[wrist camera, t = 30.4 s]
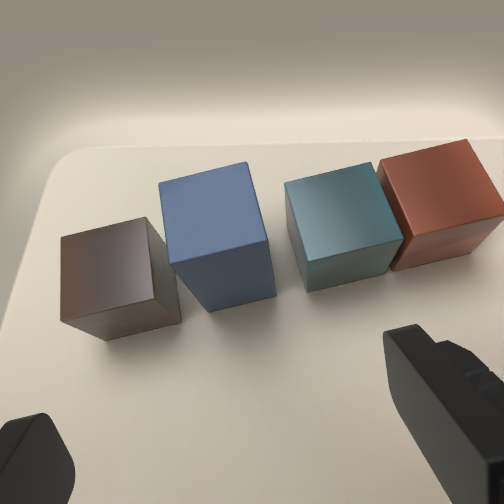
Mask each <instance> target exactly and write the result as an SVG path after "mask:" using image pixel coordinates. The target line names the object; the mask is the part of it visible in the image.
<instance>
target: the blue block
mask: <svg viewBox="0 0 504 504" xmlns="http://www.w3.org/2000/svg"><path fill="white" fill-rule="evenodd" d="M159 192H160V200H161V207H162V215H163V222H164V230H165V237H166V245H167V252H168V260H169V264H170V266H171V267H172V268H173V269H174V271H175V272H176V273H177V275H178V276H179V277H180V278H181V280H182V281H183V282H184V283H185V285H186V286H187V287H188V288H189V290H190V291H191V292H192V293H193V295H194V296H195V297H196V298H197V300H198V301H199V302H200V303H201V305H202V306H203V307H204V308H205V310H206V311H207V312H212V311H216V310H220V309H225V308H229V307H233V306H237V305H241V304H245V303H249V302H253V301H257V300H262V299H266V298H270V297H274V296H276V295H277V293H276V287H275V281H274V274H273V268H272V262H271V256H270V250H269V244H268V238H267V235H266V231H265V227H264V223H263V219H262V216H261V212H260V208H259V204H258V200H257V197H256V193H255V189H254V185H253V182H252V178H251V174H250V170H249V166H248V163H247V162H242V163H238V164H234V165H230V166H226V167H222V168H218V169H213V170H209V171H205V172H201V173H197V174H193V175H189V176H185V177H181V178H177V179H173V180H169V181H165V182H161V183H159Z"/></svg>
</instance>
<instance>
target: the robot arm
mask: <svg viewBox="0 0 504 504" xmlns="http://www.w3.org/2000/svg"><path fill="white" fill-rule="evenodd" d="M383 344H384V352H385V360H386V368H387V375H388V383H389V388H390V392H391V396H392V399H393V402H394V404H395V406H396V409H397V411H398V413H399V414H400V416H401V418H402V420H403V421H404V423H405V425H406V426H407V428H408V430H409V431H410V433H411V435H412V436H413V438H414V440H415V441H416V443H417V445H418V447H419V448H420V450H421V452H422V453H423V455H424V457H425V458H426V460H427V462H428V463H429V465H430V467H431V468H432V470H433V472H434V473H435V475H436V477H437V479H438V480H439V482H440V484H441V485H442V487H443V489H444V490H445V492H446V494H447V495H448V497H449V499H450V500H451V502H452V504H504V383H503V381H502V380H501V379H500V378H499V377H497V376H496V375H495V374H494V373H493V372H492V371H491V372H490V371H489V369H488V367H487V366H486V365H485V364H484V363H483V362H482V361H481V360H480V359H478V358H477V357H476V356H475V355H474V354H473V353H472V352H471V351H469V350H467V349H465V348H463V347H461V346H459V345H457V344H455V343H452V342H450V341H448V340H446V341H442V342H438V343H435V342H434V341H433V340H432V338H431V337H430V336H429V335H428V334H427V333H426V332H425V331H424V330H423V329H422V328H421V327H420V326H419V325H417V324H414V325H409V326H405V327H401V328H397V329H393V330H389V331H385V332H384V333H383ZM74 483H75V466H74V462H73V459H72V457H71V455H70V453H69V451H68V450H67V448H66V446H65V444H64V442H63V440H62V438H61V436H60V434H59V433H58V431H57V429H56V427H55V425H54V423H53V421H52V419H51V418H50V417H49V415H47V414H45V413H39V414H35V415H31V416H27V417H23V418H19V419H14V420H10V421H8V422H7V423H5V424H4V426H3V427H2V428H1V430H0V504H67V503H68V501H69V498H70V496H71V493H72V491H73V488H74Z"/></svg>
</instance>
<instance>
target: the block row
mask: <svg viewBox="0 0 504 504" xmlns="http://www.w3.org/2000/svg"><path fill="white" fill-rule="evenodd" d="M284 187H285V204H286V221H287V228H288V231H289V235H290V238H291V242H292V245H293V248H294V252H295V255H296V259H297V262H298V266H299V269H300V273H301V276H302V280H303V283H304V287H305V290H306V292H311V291H315V290H319V289H323V288H328V287H332V286H336V285H340V284H344V283H349V282H353V281H357V280H361V279H365V278H369V277H374V276H378V275H382V274H384V273H385V272H386V270H387V268H388V266H389V264H390V266H391V269H392V271H398V270H402V269H406V268H410V267H415V266H419V265H423V264H427V263H431V262H435V261H440V260H444V259H448V258H452V257H456V256H461V255H465V254H469V253H471V252H472V251H473V250H474V249H475V248H476V247H477V246H478V245H479V244H480V243H481V242H482V241H483V240H484V239H485V238H486V237H487V236H488V235H489V234H490V233H491V232H492V231H493V230H494V229H495V228H496V227H497V226H498V225H499V224H500V223H501V222H502V221H503V220H504V202H503V200H502V198H501V196H500V195H499V193H498V191H497V190H496V188H495V186H494V185H493V183H492V181H491V179H490V178H489V176H488V174H487V173H486V171H485V169H484V167H483V166H482V164H481V162H480V161H479V159H478V157H477V156H476V154H475V152H474V150H473V149H472V147H471V145H470V144H469V142H468V140H467V139H464V140H460V141H455V142H451V143H447V144H443V145H439V146H435V147H431V148H427V149H423V150H418V151H414V152H410V153H406V154H402V155H398V156H394V157H390V158H385V159H381V160H380V162H379V165H378V169H377V172H376V173H375V171H374V168H373V166H372V164H371V162H368V163H364V164H360V165H356V166H351V167H347V168H343V169H339V170H335V171H331V172H327V173H323V174H318V175H314V176H310V177H306V178H302V179H298V180H294V181H290V182H286V183H284ZM60 321H61V322H63V323H65V324H68V325H70V326H72V327H75V328H77V329H79V330H81V331H84V332H86V333H88V334H91V335H93V336H95V337H97V338H100V339H102V340H104V341H106V340H110V339H114V338H119V337H123V336H127V335H131V334H135V333H139V332H144V331H148V330H152V329H156V328H160V327H164V326H169V325H173V324H177V323H181V315H180V307H179V300H178V293H177V285H176V278H175V271H174V269H173V268H172V267H171V266H170V264H169V260H168V252H167V245H166V244H165V242H164V241H163V240H162V238H161V237H160V235H159V234H158V233H157V231H156V230H155V229H154V227H153V226H152V224H151V223H150V222H149V220H148V219H147V218H146V217H142V218H138V219H134V220H130V221H125V222H121V223H117V224H113V225H109V226H105V227H101V228H97V229H92V230H88V231H84V232H80V233H76V234H72V235H68V236H64V237H61V294H60Z"/></svg>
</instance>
